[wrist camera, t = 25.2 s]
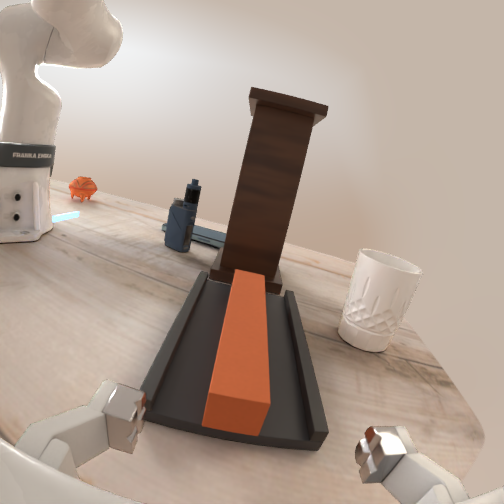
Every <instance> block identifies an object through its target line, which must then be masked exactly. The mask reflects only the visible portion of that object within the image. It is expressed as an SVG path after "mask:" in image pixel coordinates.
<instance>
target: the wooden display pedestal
mask: <svg viewBox="0 0 504 504" xmlns="http://www.w3.org/2000/svg"><path fill="white" fill-rule="evenodd" d="M249 103H250V111H251V116H253V120H252V125H251V128H250V133H249V137H248V141H247V145H246V150H245V154H244V159H243V162H242V167H241V171H240V175H239V180H238V184H237V189H236V193H235V198H234V202H233V206H232V211H231V215H230V220H229V225H228V229H227V234H226V238H225V243H224V248H223V247H221V248H220V250H219V252H218V254H217V256H216V259H215V261H214V263H213V265H212V267H211V270H210V275H209V279H213V280H217V281H222V282H226V283H230V284H232V282H233V278H234V273H235V269H238V270H242V271H247V272H251V273H256V274H260V275H264V276H265V291H267V292H271V293H276V294H280V292H281V288H282V280H281V275H280V270H279V265H278V264H279V260H280V256H281V253H282V249H283V245H284V241H285V237H286V233H287V229H288V226H289V221H290V218H291V214H292V210H293V206H294V202H295V198H296V194H297V189H298V186H299V182H300V178H301V174H302V169H303V165H304V161H305V157H306V153H307V149H308V144H309V140H310V136H311V132H312V127H313V126H314V125H315V124H317V123H318V122H320V121H321V120H322V119H324V118H325V117H326V116H327V111H328V106H326V105H323V104H319V103H316V102H312V101H309V100H305V99H301V98H297V97H293V96H289V95H285V94H281V93H277V92H272V91H268V90H264V89H259V88H254V87H251V90H250V94H249Z"/></svg>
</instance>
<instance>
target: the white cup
mask: <svg viewBox="0 0 504 504" xmlns="http://www.w3.org/2000/svg"><path fill="white" fill-rule="evenodd" d="M422 274H423V271H422V270H421V269H420V268H419V267H417V266H416V265H414V264H412V263H410V262H408V261H406V260H404V259H401V258H398V257H396V256H393V255H390V254H387V253H384V252H380V251H376V250H372V249H360V250H359V253H358V257H357V260H356V264H355V267H354V271H353V275H352V278H351V282H350V285H349V289H348V293H347V296H346V300H345V304H344V307H343V313H342V316H341V319H340V323H339V326H338V333H339V335H340V336H341V338H342V339H343V340H345V341H346V342H347V343H349V344H350V345H352V346H354V347H356V348H359V349H362V350H364V351H370V352H380V351H385V350H386V348H387V347H388V346H389V344H390V342H391V340H392V338H393V336H394V334H395V332H396V330H397V329H398V328H399V326H400V324H401V322H402V320H403V317H404V316H405V313H406V311H407V309H408V307H409V305H410V303H411V300H412V298H413V296H414V293H415V291H416V288H417V286H418V284H419V281H420V279H421V276H422Z"/></svg>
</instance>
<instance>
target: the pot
mask: <svg viewBox="0 0 504 504" xmlns="http://www.w3.org/2000/svg"><path fill="white" fill-rule="evenodd" d="M69 189H70V191H71V197H72V198H73V196H74V195H75V196H77V197H80V198H81V202H83V200H84V198H85V197H88V198H87V199H88V200H89V199H90V197H91V195H93V194H94V193H95V192H96V191H97V187H96V185H95V183H94V182H93V181H92V180H91V178H87V177H78V178H77V179H75V180H74V181H72V182H71V183H70V184H69Z"/></svg>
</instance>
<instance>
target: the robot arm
mask: <svg viewBox="0 0 504 504" xmlns="http://www.w3.org/2000/svg"><path fill="white" fill-rule="evenodd" d="M122 38H123V31H122V27H121V24H120V22H119V20H118V19H116V18H115V17H114V16H113V15H112V14H111V13H110V12H109V11H108V10H107V8H106V6H105V3H104V0H30V3H25V4H17V5H12V6H7V7H6V8H4V9H3V10H2V11H1V12H0V73H1V77H2V83H3V99H2V107H1V114H0V243H5V242H23V241H36V240H38V239H39V238H40V237H41V235H42V234H44V233H46V232H48V231H50V230H51V229H52V228H53V222H57V221H61V220H66V219H70V218H75V217H79V211H76V212H71V213H66V214H61V215H56V216H53V217H51V210H50V196H49V186H50V177H51V175H52V169H53V165H54V155H55V145H54V140H55V135H56V130H57V125H58V121H59V116H60V112H61V107H62V103H61V98H60V96H59V94H58V93H57V91H55V89H53V88H52V87H51V86H50V85H48V84H47V83H46V82H44V81H43V80H41V79H40V78H39V76H38V75H37V69H38V67H39V65H54V66H62V67H70V68H98V67H99V68H100V67H102V66H104V65H105V64H107V63H108V62H109V61H111V60H112V59H113V57H114V56H115V55H116V53H117V52H118V50H119V48H120V46H121V43H122ZM146 398H147V393H146V392H144V391H141V390H138V389H134V388H132V387H129V386H126V385H123V384H120V383H116V382H113V381H111V380H108V379H106V380H104V381H103V382H102V384H101V385H100V387H99V388H98V390H97V391H96V393H95V394H94V396H93V398H92V399H91V401H90V402H89V404H88V405H87V406H84V405H82V406H79V407H77V408H74V409H71V410H69V411H66V412H63V413H61V414H58V415H55V416H52V417H49V418H46V419H44V420H41V421H38V422H35V423H32V424H30V425H29V427H28V428H27V429H26V430H25V432H24V433H23V435H22V436H21V437H20V439H19V440H18V441H17V443H16V444H15V445H14V446H12V445H11V444H9V443H8V442H6V441H4V440H3V439H1V438H0V504H145V503H142V502H138V501H135V500H132V499H129V498H126V497H123V496H120V495H117V494H114V493H111V492H108V491H106V490H103V489H100V488H98V487H95V486H93V485H90V484H88V483H85V482H83V481H80V479H79V476H78V473H77V470H76V468H77V467H79V466H81V465H82V464H84V463H86V462H87V461H89V460H91V459H92V458H94V457H96V456H97V455H99V454H101V453H102V452H104V451H105V450H107V449H109V447H111V448H114V449H117V450H120V451H123V452H127V453H130V454H133V451H134V449H135V446H136V444H137V441H138V434H139V433H141V431H142V428H143V425H144V422H145V417H146V408H145V407H144V405H145V402H146ZM355 459H356V463H357V464H359V465H360V466H361V468H360V470H359V473H360V476H361V480H362V483H381V484H382V485H383V486H384V487H385V488H386V489H387V490H388V491H389V492H390V493H391V494H392V495H393V496H394V497H395V498H396V499H397V500H398V501H399V502H400V503H401V504H504V486H502V487H500V488H497V489H495V490H492V491H490V492H487V493H484V494H481V495H479V496H476V497H473V498H469V496H468V494H467V492H466V490H465V488H464V486H463V484H462V482H461V480H460V479H459V478H458V477H456V476H455V475H453V474H452V473H450V472H449V471H447V470H446V469H444V468H443V467H441V466H440V465H438V464H437V463H435V462H434V461H432V460H431V459H430V458H428V457H427V456H425V455H424V454H422V453H418V451H417V449H416V447H415V445H414V443H413V441H412V439H411V437H410V435H409V433H408V431H407V429H406V428H405V427H404V426H371V427H369V428H368V429H367V430H366V432H365V438H363V439H362V440H360V441H359V443H358V445H357V446H356V450H355Z"/></svg>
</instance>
